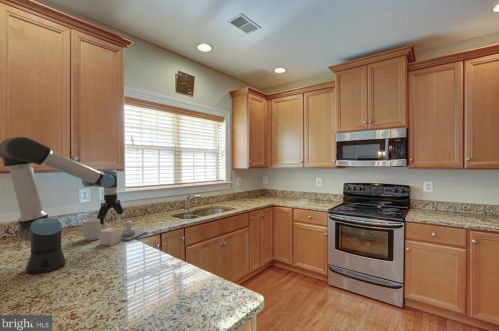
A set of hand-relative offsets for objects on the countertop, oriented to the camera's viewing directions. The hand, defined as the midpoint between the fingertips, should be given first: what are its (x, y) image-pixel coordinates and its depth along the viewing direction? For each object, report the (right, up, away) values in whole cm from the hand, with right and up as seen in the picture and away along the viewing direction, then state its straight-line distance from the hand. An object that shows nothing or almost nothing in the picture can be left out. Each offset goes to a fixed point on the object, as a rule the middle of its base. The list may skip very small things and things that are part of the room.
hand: (111, 226), depth 160 cm
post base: (+5, -11, +14) cm, 18 cm away
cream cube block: (0, -11, 0) cm, 11 cm away
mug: (-16, -11, +8) cm, 21 cm away
